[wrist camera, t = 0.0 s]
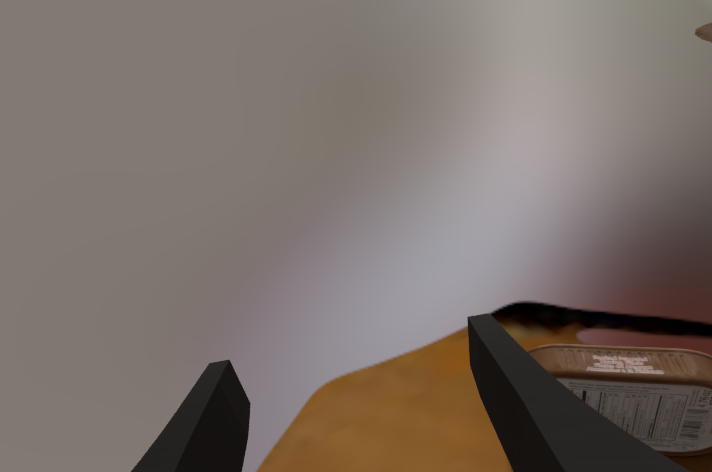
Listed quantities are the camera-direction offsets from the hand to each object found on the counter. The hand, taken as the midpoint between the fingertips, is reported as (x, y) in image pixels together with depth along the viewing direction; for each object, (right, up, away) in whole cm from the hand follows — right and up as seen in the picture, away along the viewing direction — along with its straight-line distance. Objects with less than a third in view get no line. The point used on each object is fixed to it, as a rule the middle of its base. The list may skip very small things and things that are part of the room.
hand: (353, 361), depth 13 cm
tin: (+19, -12, +19) cm, 29 cm away
